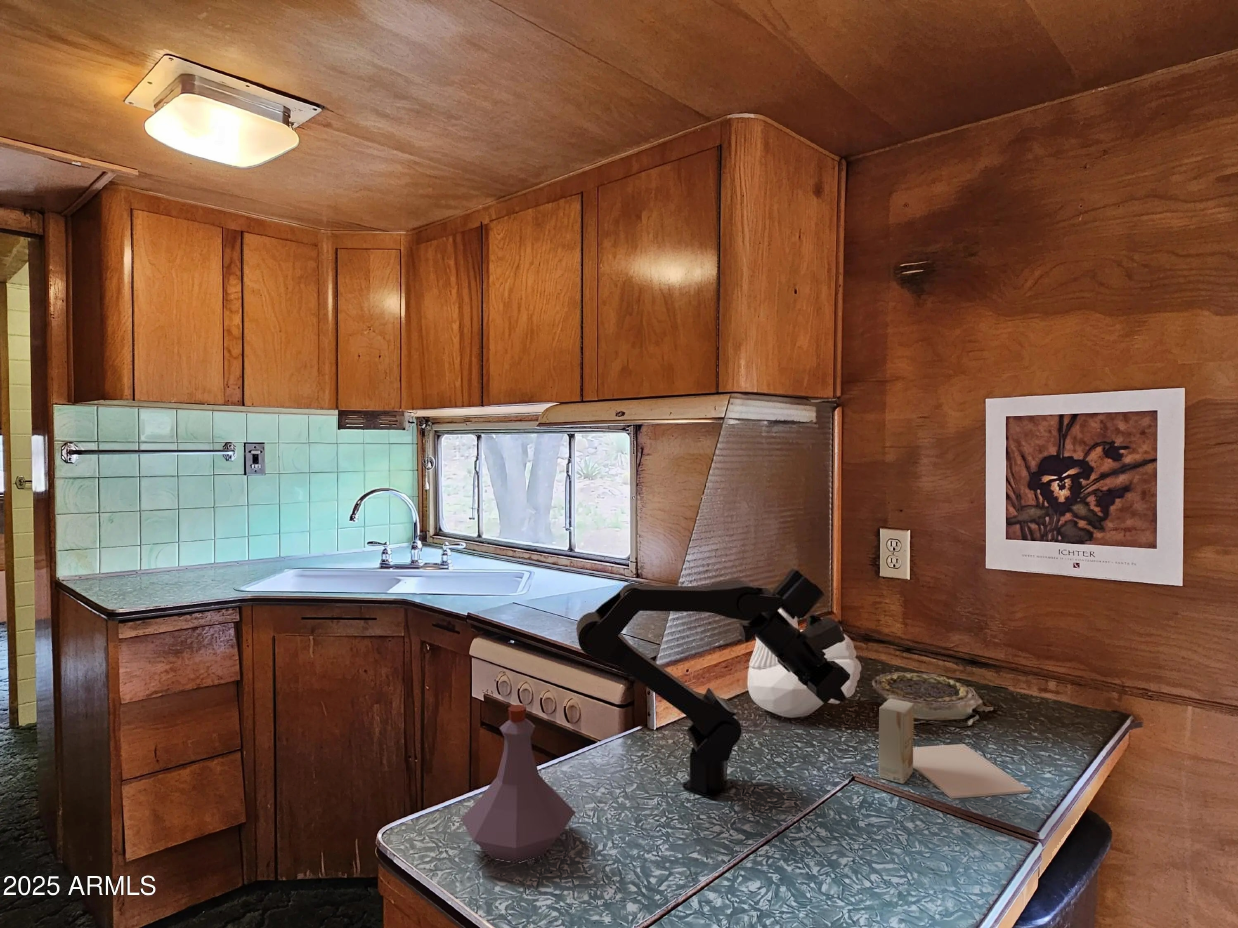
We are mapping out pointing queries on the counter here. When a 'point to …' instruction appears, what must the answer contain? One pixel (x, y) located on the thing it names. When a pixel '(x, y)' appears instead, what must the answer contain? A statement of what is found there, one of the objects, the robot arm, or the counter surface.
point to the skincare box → (896, 740)
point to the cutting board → (963, 772)
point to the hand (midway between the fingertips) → (844, 699)
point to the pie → (931, 696)
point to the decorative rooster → (794, 679)
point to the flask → (517, 801)
